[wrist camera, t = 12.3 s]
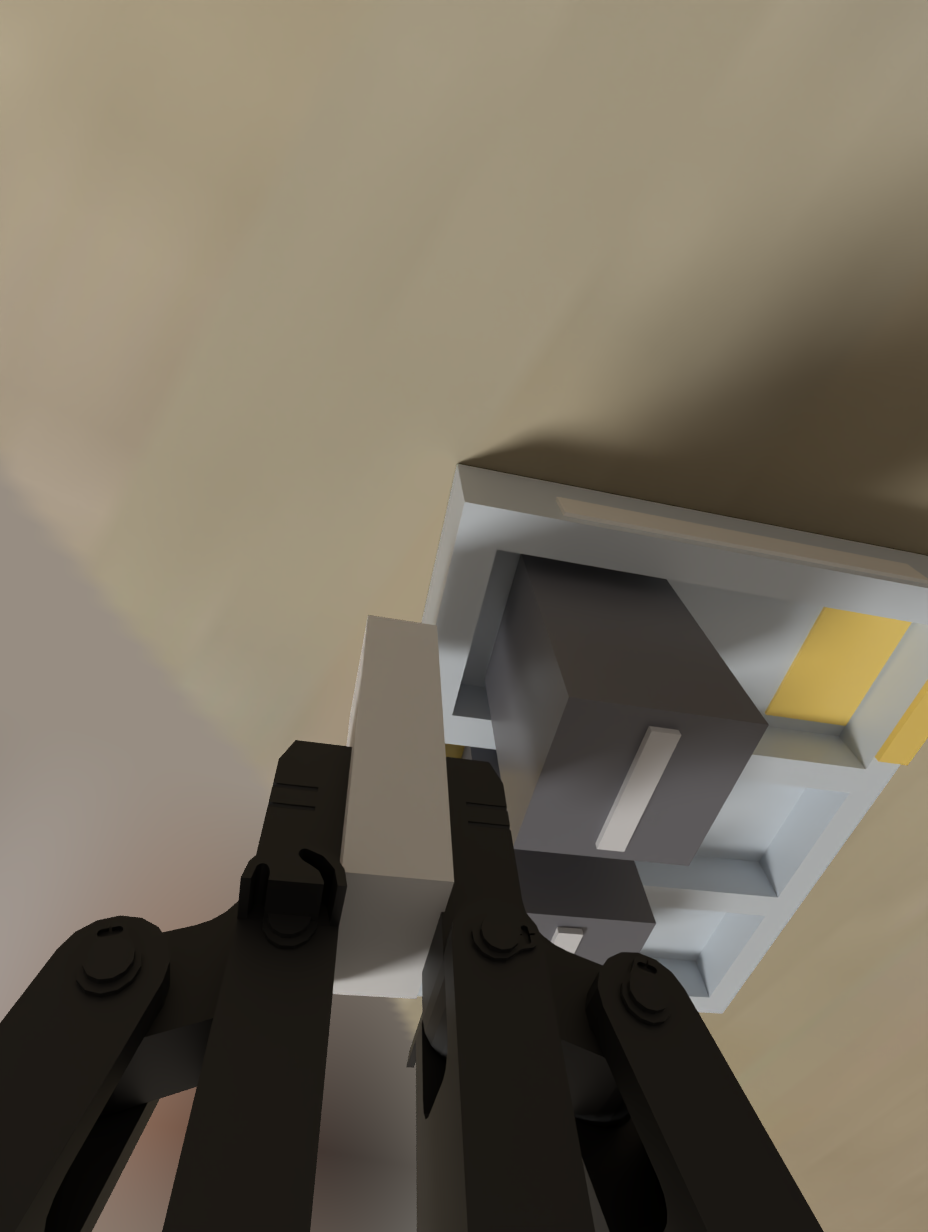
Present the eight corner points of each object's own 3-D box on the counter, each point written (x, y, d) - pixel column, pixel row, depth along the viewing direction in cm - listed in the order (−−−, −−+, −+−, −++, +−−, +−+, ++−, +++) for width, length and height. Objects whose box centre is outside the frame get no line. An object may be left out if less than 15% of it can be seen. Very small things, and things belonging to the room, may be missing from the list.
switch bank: (458, 459, 18) (466, 501, 15) (947, 556, 20) (1023, 605, 18) (353, 924, 27) (348, 997, 24) (697, 950, 29) (724, 1018, 27)
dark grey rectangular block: (520, 552, 17) (570, 702, 12) (665, 578, 18) (772, 730, 13) (484, 678, 19) (513, 854, 14) (616, 697, 20) (691, 871, 15)
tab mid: (469, 732, 20) (490, 916, 15) (595, 748, 21) (658, 929, 16) (441, 826, 22) (452, 1017, 17) (557, 838, 23) (603, 1025, 18)
